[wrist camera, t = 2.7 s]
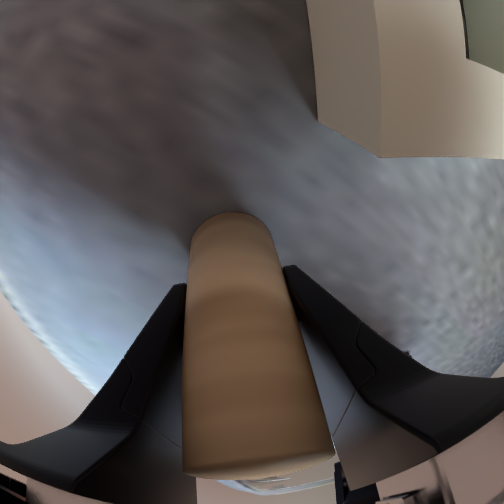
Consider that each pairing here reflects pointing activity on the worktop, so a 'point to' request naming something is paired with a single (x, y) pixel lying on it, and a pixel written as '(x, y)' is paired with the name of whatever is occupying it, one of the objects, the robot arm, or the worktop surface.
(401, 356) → the robot arm
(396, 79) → the socket
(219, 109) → the worktop surface
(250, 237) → the peg
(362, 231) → the worktop surface
